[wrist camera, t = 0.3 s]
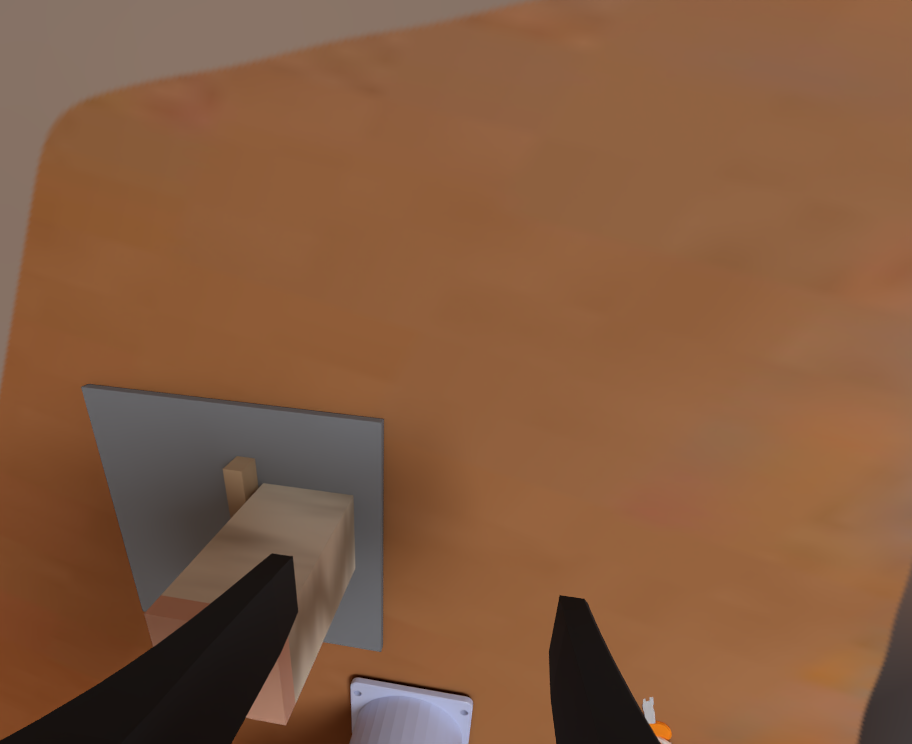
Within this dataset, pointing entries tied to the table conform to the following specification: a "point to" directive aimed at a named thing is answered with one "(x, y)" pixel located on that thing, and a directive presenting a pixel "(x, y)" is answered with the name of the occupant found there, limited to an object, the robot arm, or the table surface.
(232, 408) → the rubber mat
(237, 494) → the stop strip
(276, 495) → the birch block
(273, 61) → the table surface
